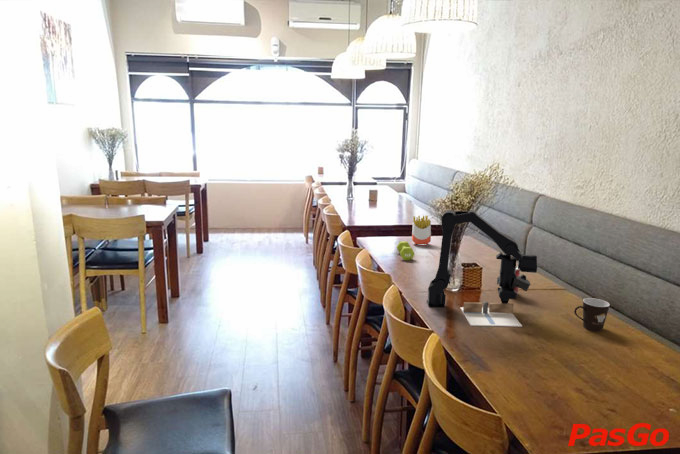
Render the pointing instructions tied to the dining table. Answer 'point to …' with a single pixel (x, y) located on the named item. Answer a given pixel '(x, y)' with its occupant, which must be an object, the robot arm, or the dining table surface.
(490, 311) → the fold panel
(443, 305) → the robot arm
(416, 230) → the french fries container
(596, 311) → the coffee mug
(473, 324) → the card
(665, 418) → the dining table surface
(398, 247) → the dumbbell
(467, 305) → the fixed panel
